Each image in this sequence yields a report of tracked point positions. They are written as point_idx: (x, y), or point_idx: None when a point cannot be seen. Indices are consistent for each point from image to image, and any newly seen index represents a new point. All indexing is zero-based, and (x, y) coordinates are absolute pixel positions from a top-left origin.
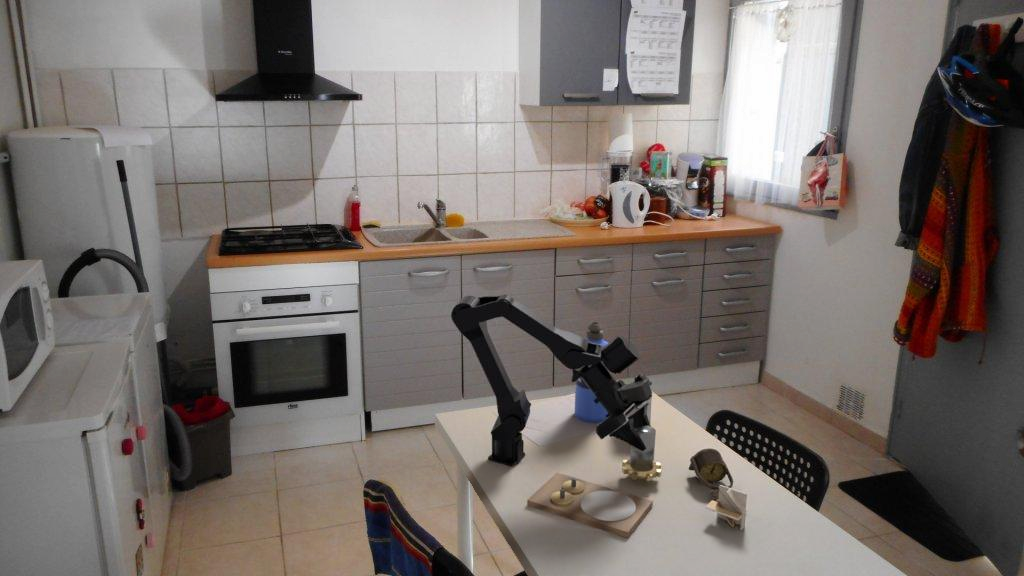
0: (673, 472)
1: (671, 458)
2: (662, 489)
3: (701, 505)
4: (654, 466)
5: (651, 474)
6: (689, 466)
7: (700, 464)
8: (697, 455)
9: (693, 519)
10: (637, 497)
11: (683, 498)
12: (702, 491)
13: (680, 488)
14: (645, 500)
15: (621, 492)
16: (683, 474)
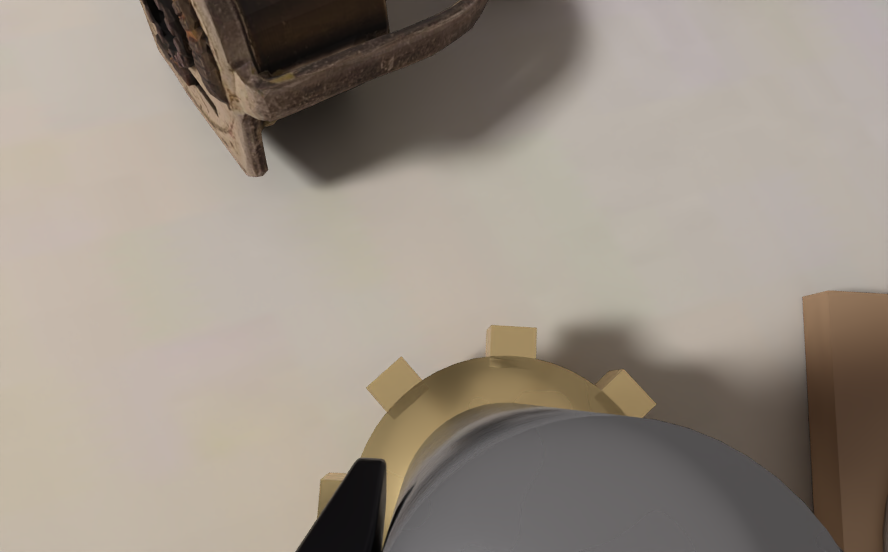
0: (281, 297)
1: (62, 374)
2: (558, 299)
3: (620, 27)
4: (461, 401)
5: (613, 380)
6: (258, 160)
7: (351, 4)
8: (249, 30)
9: (799, 33)
10: (852, 405)
11: (598, 143)
12: (449, 58)
13: (482, 193)
14: (856, 338)
15: (856, 546)
16: (278, 225)
